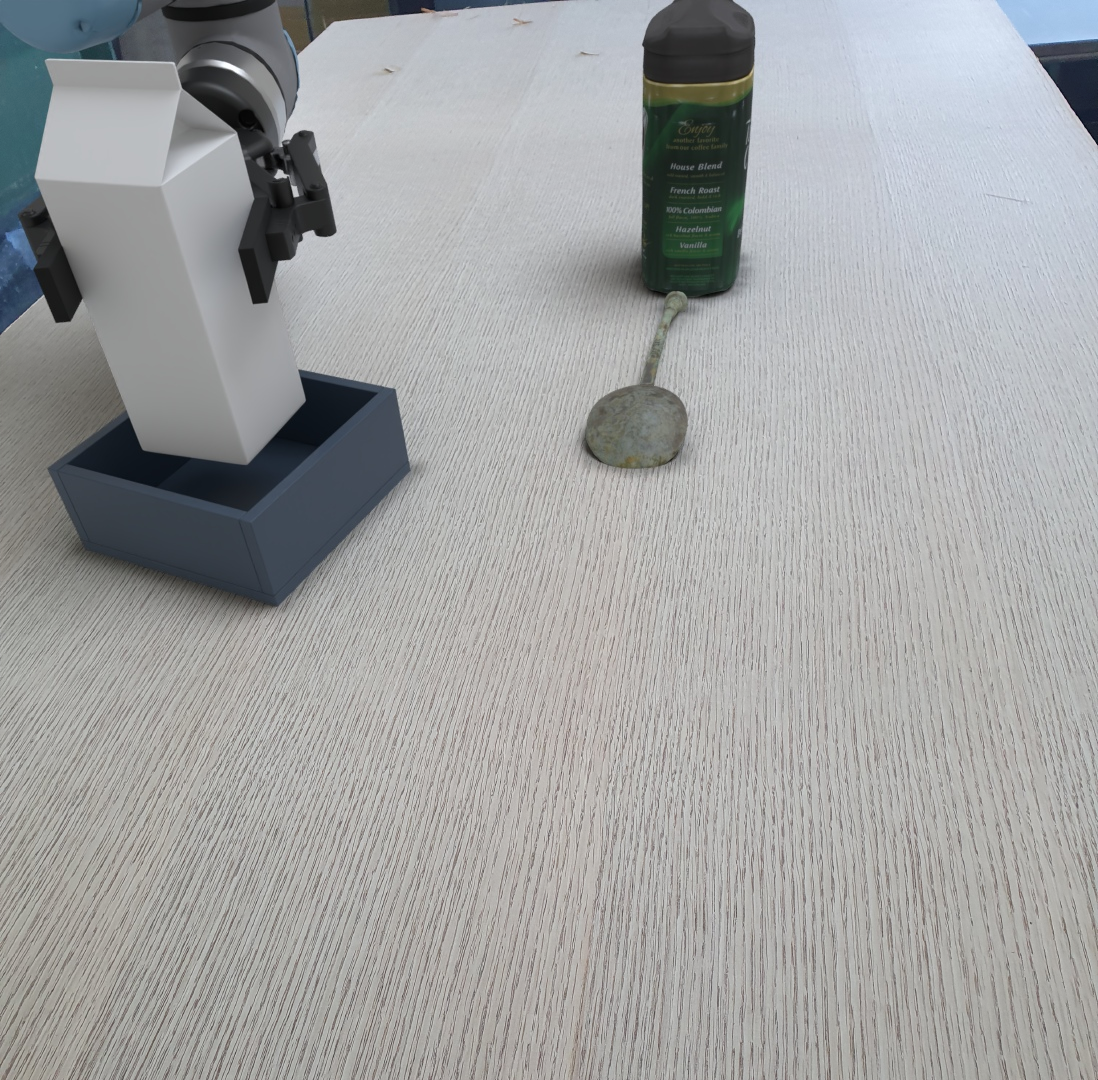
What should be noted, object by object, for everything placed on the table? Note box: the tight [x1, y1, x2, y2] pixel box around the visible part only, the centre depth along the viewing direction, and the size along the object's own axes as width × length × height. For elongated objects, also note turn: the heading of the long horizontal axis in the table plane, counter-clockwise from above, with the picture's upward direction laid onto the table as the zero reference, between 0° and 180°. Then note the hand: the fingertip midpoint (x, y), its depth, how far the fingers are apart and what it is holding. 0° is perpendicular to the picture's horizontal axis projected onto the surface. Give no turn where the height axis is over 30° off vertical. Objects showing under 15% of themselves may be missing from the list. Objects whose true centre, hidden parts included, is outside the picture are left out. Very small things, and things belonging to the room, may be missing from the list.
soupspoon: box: [585, 291, 689, 470], centre depth 74 cm, size 22×3×7 cm
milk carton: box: [34, 58, 306, 465], centre depth 56 cm, size 7×7×19 cm
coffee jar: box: [640, 0, 756, 298], centre depth 79 cm, size 10×8×19 cm
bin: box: [47, 368, 412, 607], centre depth 65 cm, size 15×15×6 cm
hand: (152, 286), depth 52 cm, fingers closed on milk carton, 9 cm apart
